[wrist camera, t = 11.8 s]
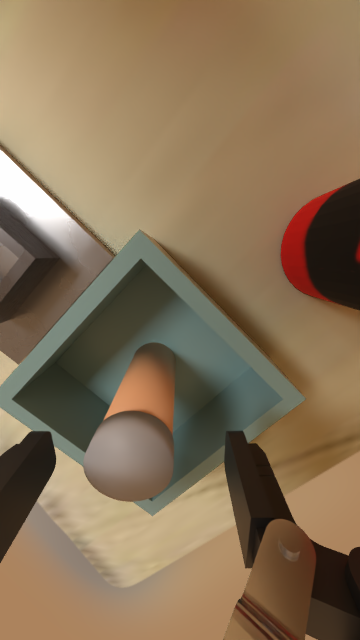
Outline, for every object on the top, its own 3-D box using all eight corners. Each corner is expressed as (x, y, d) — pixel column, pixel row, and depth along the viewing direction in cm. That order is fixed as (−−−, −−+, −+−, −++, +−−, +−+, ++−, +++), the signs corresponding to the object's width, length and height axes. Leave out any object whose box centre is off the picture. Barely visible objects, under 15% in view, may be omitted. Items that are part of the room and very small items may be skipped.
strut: (133, 382, 20) (88, 501, 10) (130, 341, 19) (78, 429, 9) (177, 382, 20) (173, 501, 10) (176, 341, 19) (173, 430, 9)
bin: (43, 358, 20) (-12, 399, 14) (153, 238, 17) (139, 229, 12) (159, 449, 23) (152, 515, 17) (269, 357, 20) (306, 399, 14)
